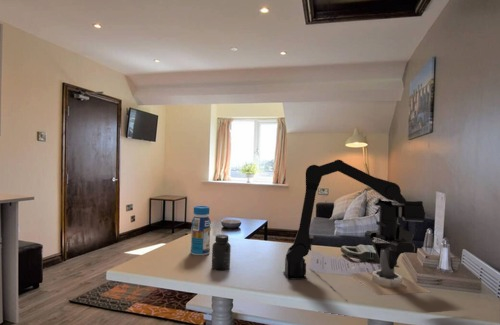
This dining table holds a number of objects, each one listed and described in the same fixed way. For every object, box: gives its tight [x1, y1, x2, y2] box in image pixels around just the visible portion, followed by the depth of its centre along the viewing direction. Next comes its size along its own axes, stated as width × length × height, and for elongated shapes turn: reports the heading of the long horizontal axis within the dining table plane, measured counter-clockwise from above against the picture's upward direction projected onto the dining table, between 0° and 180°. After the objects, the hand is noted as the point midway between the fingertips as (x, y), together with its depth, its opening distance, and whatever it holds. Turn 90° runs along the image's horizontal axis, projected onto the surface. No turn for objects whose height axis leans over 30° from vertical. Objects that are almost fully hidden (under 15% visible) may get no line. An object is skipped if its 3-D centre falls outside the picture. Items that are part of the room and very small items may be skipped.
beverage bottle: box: [190, 205, 212, 256], centre depth 134 cm, size 8×8×20 cm
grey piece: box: [340, 244, 398, 266], centre depth 131 cm, size 16×20×5 cm
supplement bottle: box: [211, 234, 232, 272], centre depth 116 cm, size 7×7×12 cm
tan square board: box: [348, 272, 431, 296], centre depth 103 cm, size 18×18×1 cm
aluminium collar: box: [371, 269, 403, 288], centre depth 103 cm, size 9×9×2 cm
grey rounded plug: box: [379, 248, 395, 279], centre depth 103 cm, size 4×4×9 cm
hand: (387, 266), depth 103 cm, fingers closed on grey rounded plug, 4 cm apart
